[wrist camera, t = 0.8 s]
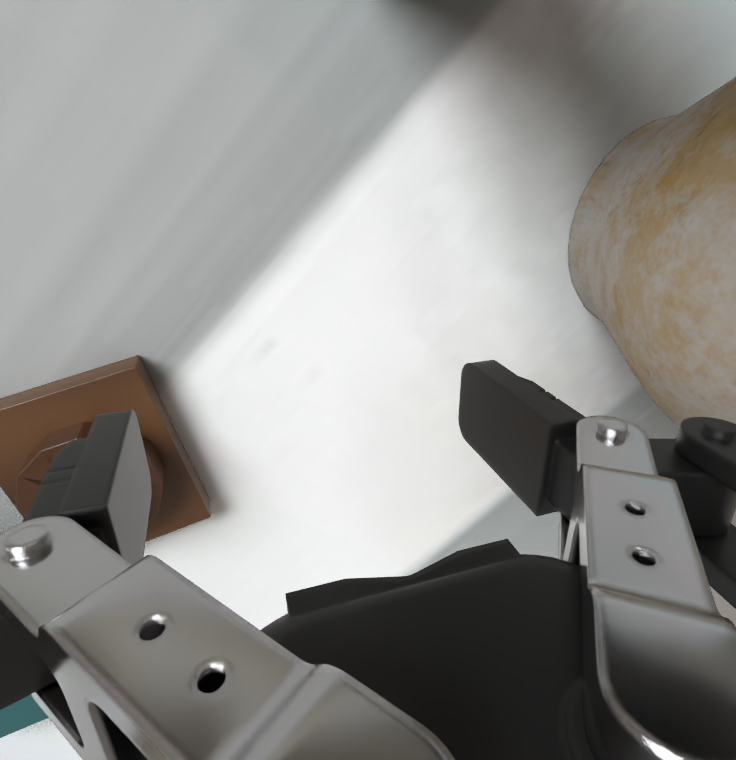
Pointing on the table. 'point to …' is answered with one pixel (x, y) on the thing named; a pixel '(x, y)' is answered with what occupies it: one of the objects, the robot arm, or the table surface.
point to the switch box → (73, 421)
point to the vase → (667, 256)
